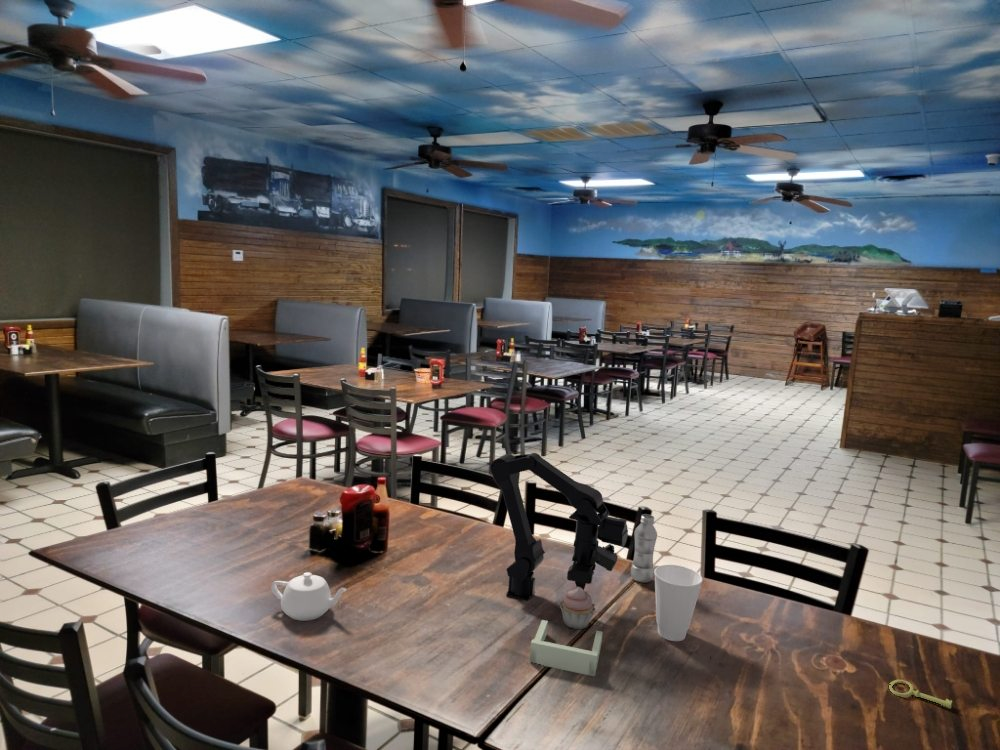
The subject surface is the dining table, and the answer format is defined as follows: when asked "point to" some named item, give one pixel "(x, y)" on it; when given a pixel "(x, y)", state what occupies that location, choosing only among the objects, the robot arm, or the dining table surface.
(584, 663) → the pocket
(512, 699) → the dining table surface
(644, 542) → the plastic bottle
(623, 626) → the dining table surface
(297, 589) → the teapot
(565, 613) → the cupcake
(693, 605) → the cup
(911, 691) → the key
